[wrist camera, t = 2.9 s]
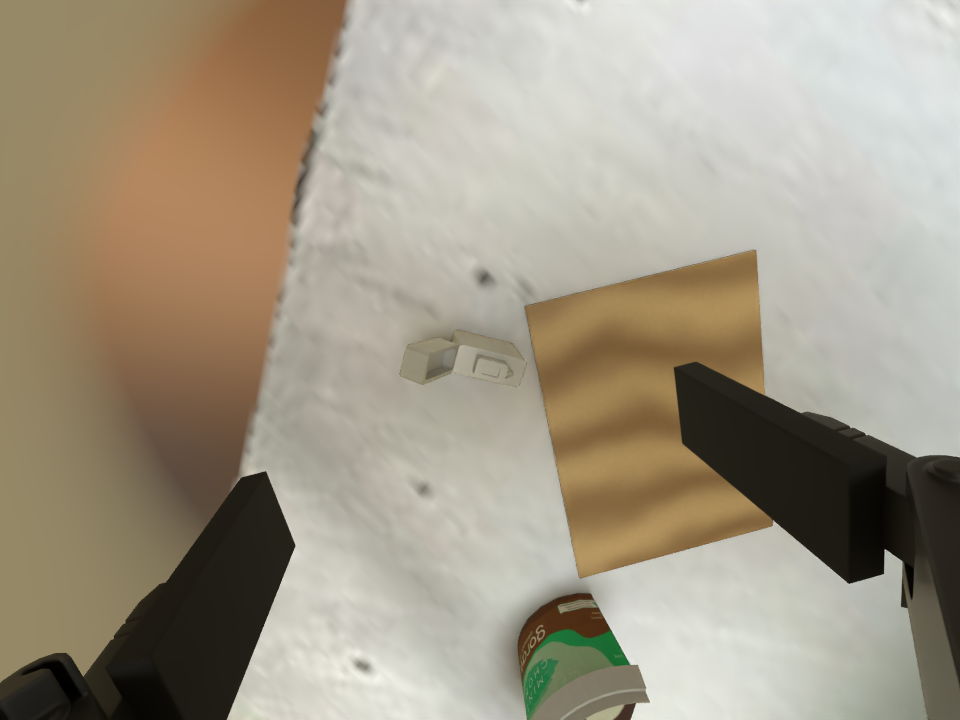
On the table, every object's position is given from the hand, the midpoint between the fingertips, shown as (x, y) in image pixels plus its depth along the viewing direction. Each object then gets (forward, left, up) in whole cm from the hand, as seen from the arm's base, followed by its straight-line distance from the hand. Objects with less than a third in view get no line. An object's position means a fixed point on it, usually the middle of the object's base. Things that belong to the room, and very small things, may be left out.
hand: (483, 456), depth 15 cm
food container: (-26, -1, -18) cm, 32 cm away
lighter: (-1, 0, -18) cm, 18 cm away
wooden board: (-10, -13, -17) cm, 24 cm away
